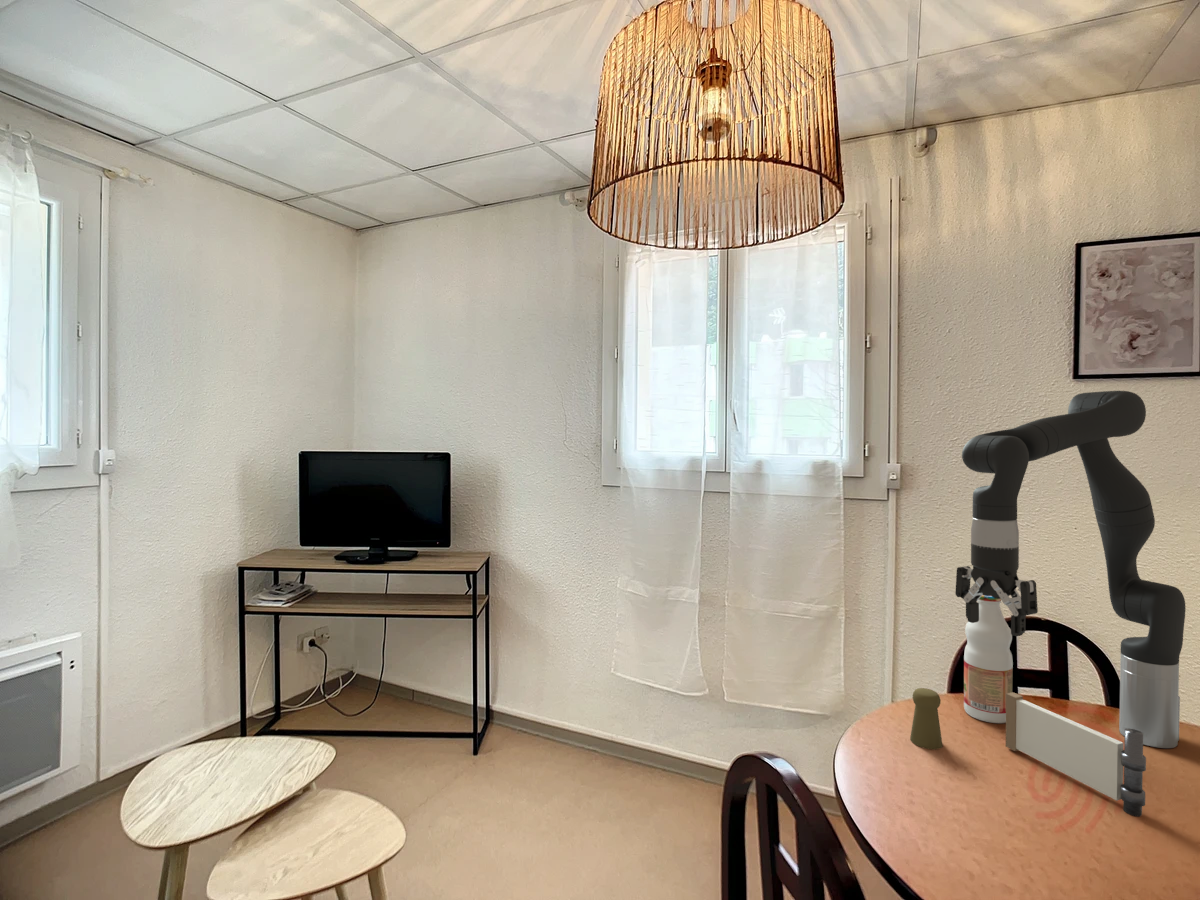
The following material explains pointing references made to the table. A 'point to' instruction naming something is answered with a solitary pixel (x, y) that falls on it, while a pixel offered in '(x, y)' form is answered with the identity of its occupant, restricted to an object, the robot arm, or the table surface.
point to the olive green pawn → (926, 719)
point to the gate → (1065, 745)
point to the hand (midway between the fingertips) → (994, 628)
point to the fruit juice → (987, 663)
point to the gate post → (1133, 773)
